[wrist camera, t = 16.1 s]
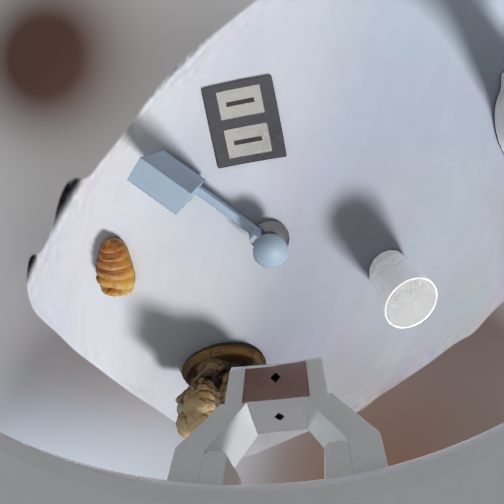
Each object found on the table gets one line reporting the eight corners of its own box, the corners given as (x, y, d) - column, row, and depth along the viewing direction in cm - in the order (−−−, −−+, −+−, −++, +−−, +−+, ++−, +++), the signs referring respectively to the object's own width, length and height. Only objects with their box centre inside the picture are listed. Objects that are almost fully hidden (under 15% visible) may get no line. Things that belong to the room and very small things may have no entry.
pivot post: (278, 213, 42) (279, 222, 38) (295, 245, 43) (297, 256, 40) (245, 230, 43) (243, 240, 39) (262, 260, 45) (262, 272, 41)
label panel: (270, 75, 34) (271, 74, 34) (286, 156, 38) (286, 156, 38) (202, 89, 35) (201, 89, 35) (219, 168, 40) (218, 168, 39)
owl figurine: (204, 398, 59) (189, 465, 43) (167, 363, 55) (140, 432, 40) (279, 370, 54) (278, 447, 38) (243, 329, 50) (231, 409, 35)
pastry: (97, 233, 45) (86, 243, 41) (134, 237, 45) (124, 247, 41) (104, 284, 49) (94, 295, 45) (138, 289, 48) (130, 302, 45)
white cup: (360, 290, 46) (377, 328, 37) (370, 243, 43) (393, 275, 34) (403, 291, 46) (426, 328, 37) (415, 247, 42) (445, 278, 33)
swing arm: (293, 238, 42) (297, 264, 35) (273, 260, 43) (273, 290, 36) (166, 145, 38) (143, 152, 30) (149, 172, 39) (124, 184, 32)
